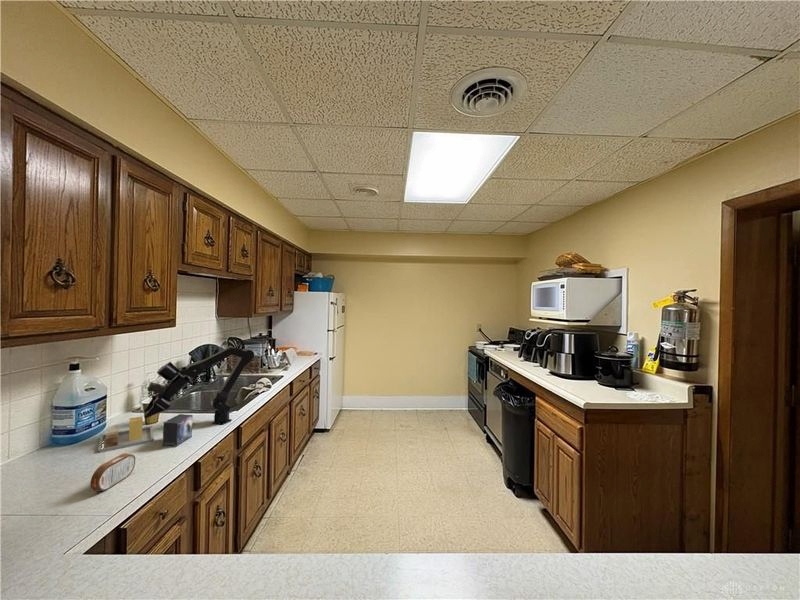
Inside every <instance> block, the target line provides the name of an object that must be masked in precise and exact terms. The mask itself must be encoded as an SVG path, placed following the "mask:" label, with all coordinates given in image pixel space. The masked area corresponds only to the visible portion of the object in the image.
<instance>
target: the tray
mask: <svg viewBox="0 0 800 600" xmlns="http://www.w3.org/2000/svg"><path fill="white" fill-rule="evenodd" d="M105 439H106V433H104V434H101V435H100V439H99V443H98V449H97V454H101V452H102V453H106V452H111V451H115V450H116V451H117V450H121V449H125V448H131V447H136V446H140V445H145V444H150V443H154V442H155V440H154V432H153V426H152V425H150V426H145V427H143V426H142V439H138V440H133V441H129V429H128V430H122V431H118V445H117V446H113V447H108V448H105ZM103 441H104V442H103ZM102 442H103V443H102ZM102 444H104V448H103V449H101V448H102Z"/></svg>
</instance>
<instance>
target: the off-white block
mask: <svg viewBox="0 0 800 600" xmlns="http://www.w3.org/2000/svg"><path fill="white" fill-rule="evenodd" d="M118 432H119V428H113V429H107V430H106V432H105V434H106V436H107V435H112V434H118Z"/></svg>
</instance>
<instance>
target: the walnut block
mask: <svg viewBox="0 0 800 600" xmlns="http://www.w3.org/2000/svg"><path fill="white" fill-rule="evenodd" d="M117 445H118V434H112V435H107V436H106V439H105V448H108V447H113V446H117Z"/></svg>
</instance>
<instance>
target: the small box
mask: <svg viewBox="0 0 800 600" xmlns="http://www.w3.org/2000/svg"><path fill="white" fill-rule="evenodd" d="M193 416H194V415H193V414H186V413H185V414H184V413H180V414H177V415H175V416H173V417H171V418H170V419H167V420H165V421H163V425H162V426H163V431H162V432H163V433H162V448H163V447H169V448H177V447H179V446H180V445H181V444H183V443H185V442H187V441H188V440H189V439H192V437H193V425H192V423H193Z"/></svg>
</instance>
